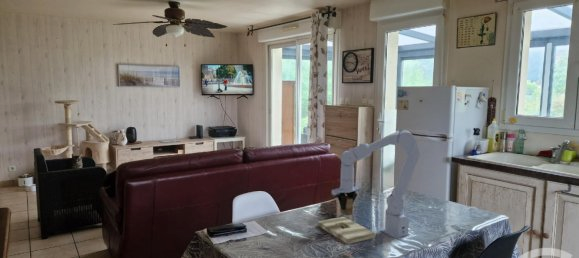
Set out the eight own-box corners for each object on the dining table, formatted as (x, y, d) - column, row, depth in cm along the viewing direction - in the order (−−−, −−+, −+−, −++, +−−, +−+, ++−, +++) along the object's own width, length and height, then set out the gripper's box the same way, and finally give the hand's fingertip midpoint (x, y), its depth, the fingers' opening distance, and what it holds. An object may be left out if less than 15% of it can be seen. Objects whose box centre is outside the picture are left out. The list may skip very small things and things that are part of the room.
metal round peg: (352, 218, 176) (352, 204, 175) (343, 220, 174) (343, 205, 173) (345, 215, 181) (346, 201, 180) (337, 217, 178) (337, 202, 177)
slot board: (375, 237, 154) (375, 232, 154) (347, 244, 147) (348, 239, 147) (343, 220, 173) (343, 216, 173) (317, 225, 167) (317, 221, 166)
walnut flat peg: (352, 214, 162) (352, 198, 161) (346, 215, 160) (347, 199, 160) (345, 211, 166) (346, 195, 165) (340, 212, 165) (340, 196, 164)
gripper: (354, 175, 168) (354, 204, 170) (328, 178, 162) (327, 208, 163) (364, 178, 162) (363, 208, 164) (337, 182, 156) (336, 213, 157)
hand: (346, 209), depth 163 cm, fingers closed on walnut flat peg, 3 cm apart
